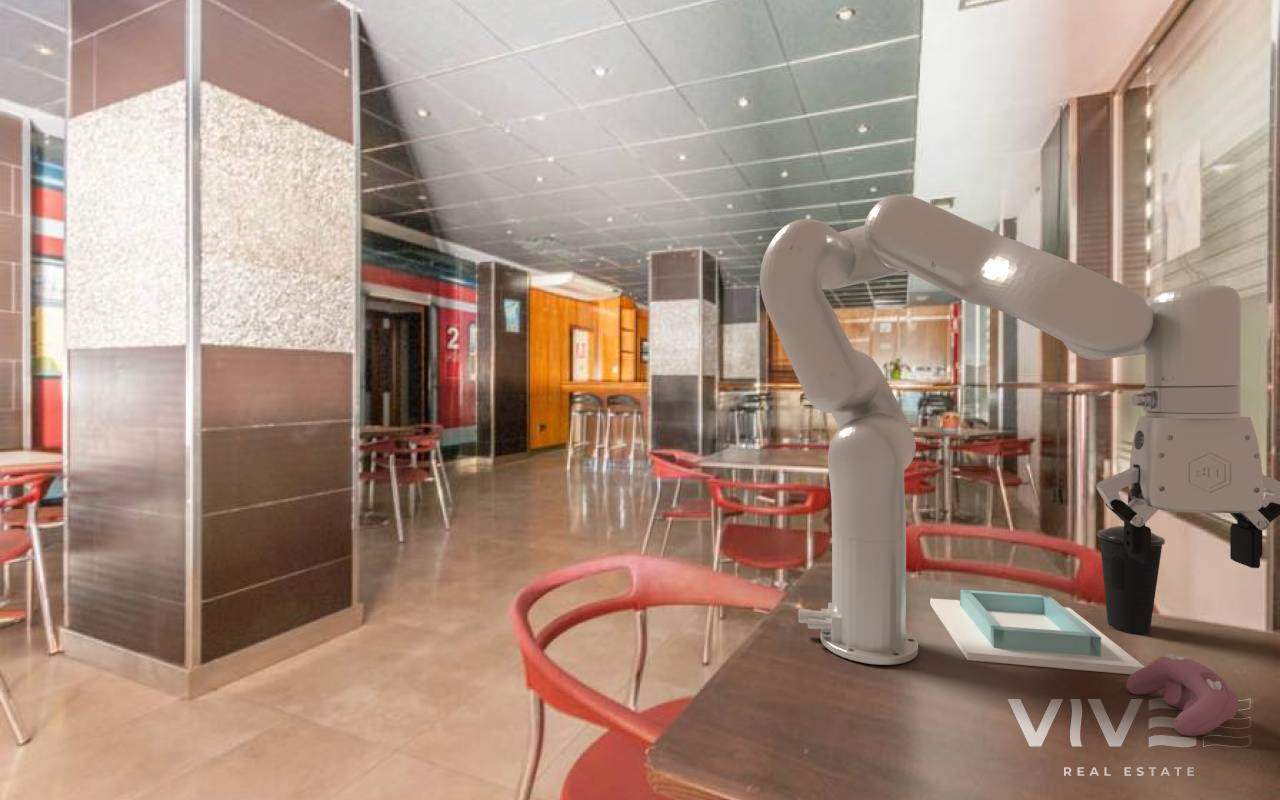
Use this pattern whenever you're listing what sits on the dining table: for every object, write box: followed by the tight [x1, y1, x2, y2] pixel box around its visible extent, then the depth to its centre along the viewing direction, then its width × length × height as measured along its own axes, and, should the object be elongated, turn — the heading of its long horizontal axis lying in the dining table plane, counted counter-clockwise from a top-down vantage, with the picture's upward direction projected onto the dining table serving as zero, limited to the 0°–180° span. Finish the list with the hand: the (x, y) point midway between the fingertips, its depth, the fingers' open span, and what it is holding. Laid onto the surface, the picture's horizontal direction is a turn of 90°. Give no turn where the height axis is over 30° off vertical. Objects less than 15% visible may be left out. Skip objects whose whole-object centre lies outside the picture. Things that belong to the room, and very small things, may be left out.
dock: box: [930, 589, 1145, 675], centre depth 86 cm, size 20×20×4 cm
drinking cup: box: [1096, 491, 1166, 635], centre depth 88 cm, size 8×8×20 cm
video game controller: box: [1125, 653, 1240, 737], centre depth 66 cm, size 10×5×7 cm, turn 169°
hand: (1190, 562), depth 65 cm, fingers open, 9 cm apart
